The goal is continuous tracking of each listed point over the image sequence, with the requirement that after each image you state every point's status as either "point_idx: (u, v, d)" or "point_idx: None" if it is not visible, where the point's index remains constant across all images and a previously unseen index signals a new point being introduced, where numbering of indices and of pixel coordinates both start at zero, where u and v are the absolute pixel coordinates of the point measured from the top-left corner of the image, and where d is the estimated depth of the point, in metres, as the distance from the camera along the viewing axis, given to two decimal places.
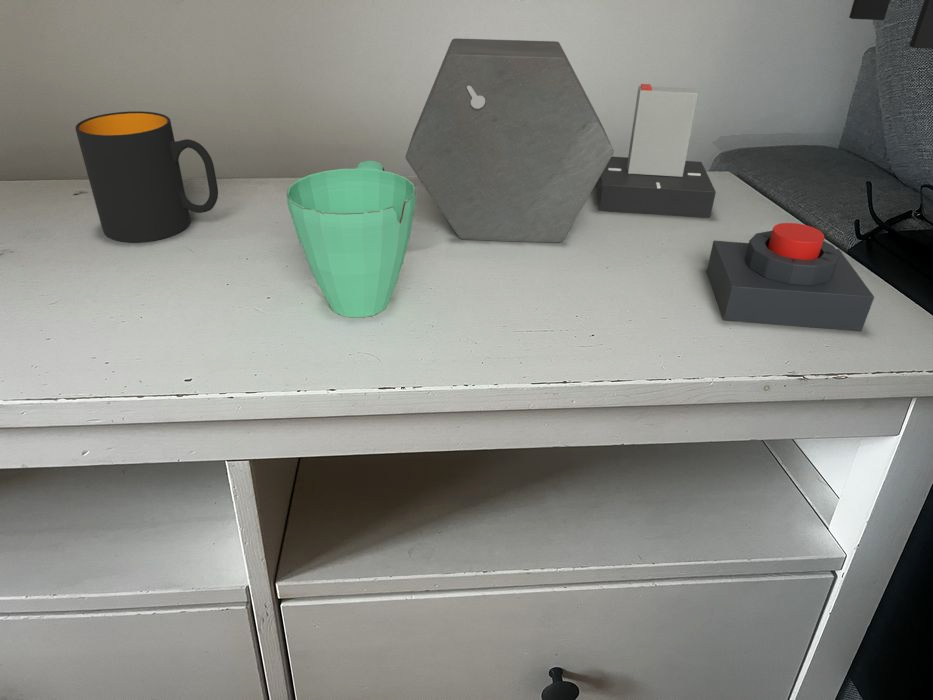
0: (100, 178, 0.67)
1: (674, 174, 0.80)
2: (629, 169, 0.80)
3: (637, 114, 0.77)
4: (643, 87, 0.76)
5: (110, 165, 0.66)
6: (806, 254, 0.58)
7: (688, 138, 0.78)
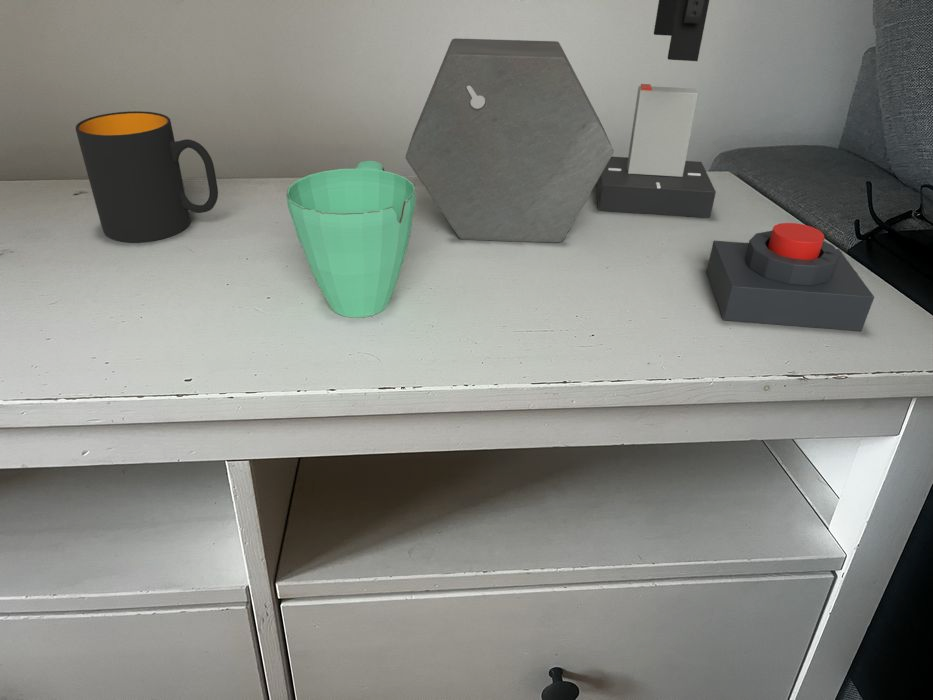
0: (100, 178, 0.67)
1: (674, 174, 0.80)
2: (629, 169, 0.80)
3: (637, 114, 0.77)
4: (643, 87, 0.76)
5: (110, 165, 0.66)
6: (806, 254, 0.58)
7: (688, 138, 0.78)
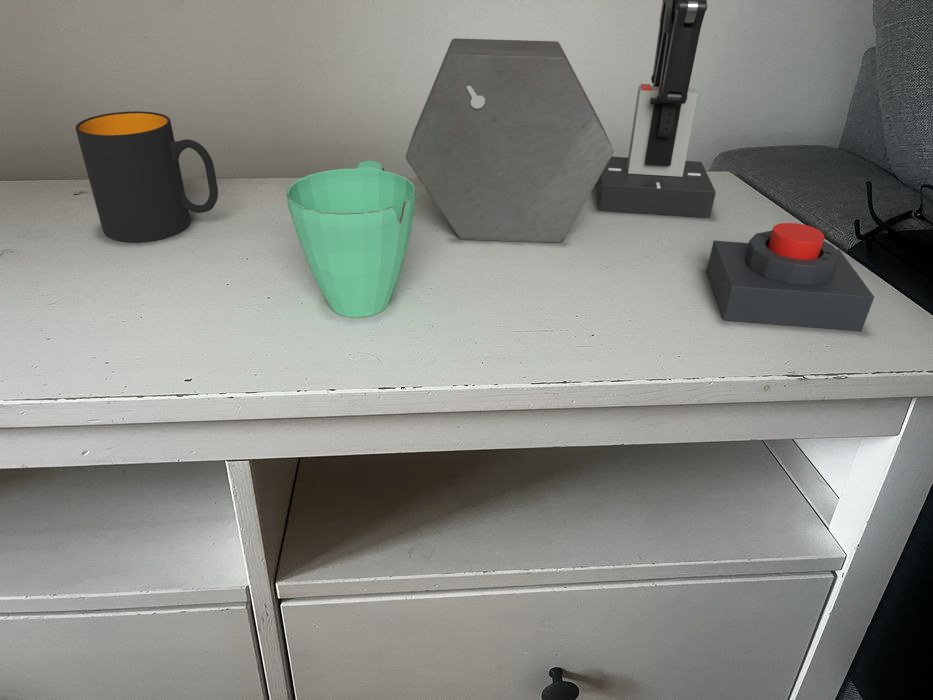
0: (100, 178, 0.67)
1: (674, 174, 0.80)
2: (629, 169, 0.80)
3: (637, 114, 0.77)
4: (643, 87, 0.76)
5: (110, 165, 0.66)
6: (806, 254, 0.58)
7: (688, 138, 0.78)
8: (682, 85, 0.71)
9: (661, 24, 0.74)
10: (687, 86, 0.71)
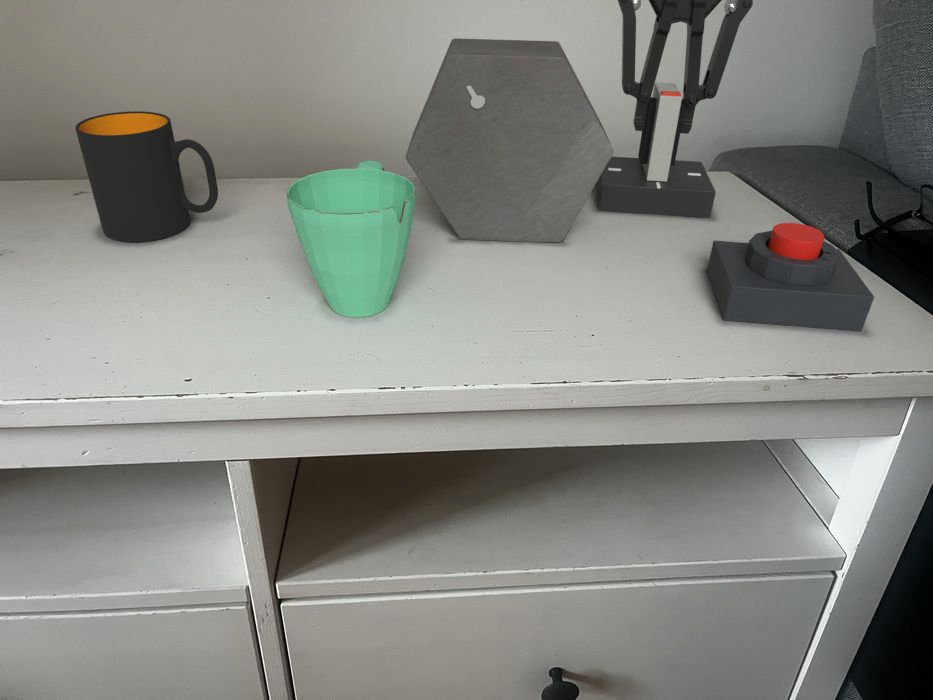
0: (100, 178, 0.67)
1: None
2: (667, 177, 0.78)
3: (677, 121, 0.75)
4: (677, 93, 0.74)
5: (110, 165, 0.66)
6: (806, 254, 0.58)
7: None
8: None
9: (669, 30, 0.72)
10: None
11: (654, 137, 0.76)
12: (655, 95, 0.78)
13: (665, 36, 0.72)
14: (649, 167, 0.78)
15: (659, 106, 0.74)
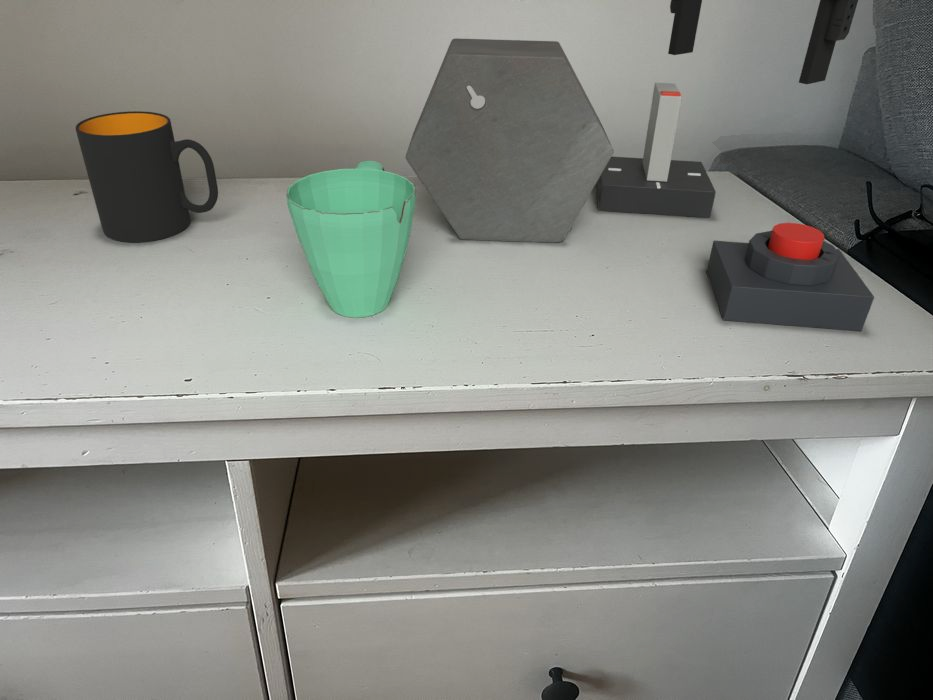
0: (100, 178, 0.67)
1: None
2: (667, 177, 0.78)
3: (677, 121, 0.75)
4: (677, 93, 0.74)
5: (110, 165, 0.66)
6: (806, 254, 0.58)
7: None
8: None
9: None
10: None
11: (654, 137, 0.76)
12: (655, 95, 0.78)
13: None
14: (649, 167, 0.78)
15: (659, 106, 0.74)
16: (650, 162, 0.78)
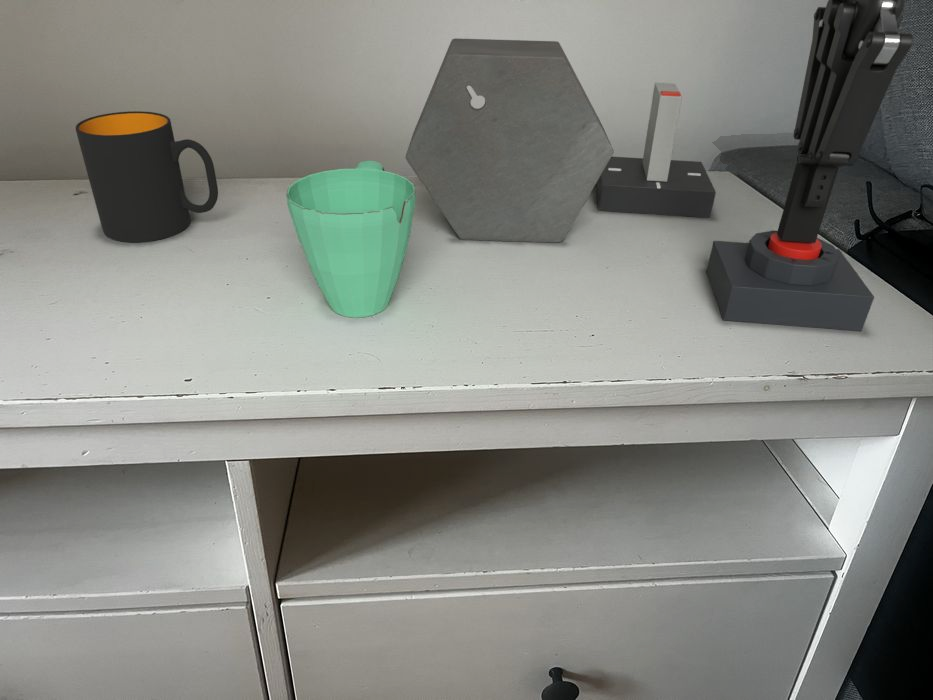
0: (100, 178, 0.67)
1: None
2: (667, 177, 0.78)
3: (677, 121, 0.75)
4: (677, 93, 0.74)
5: (110, 165, 0.66)
6: None
7: None
8: (853, 144, 0.51)
9: (822, 58, 0.53)
10: (860, 145, 0.51)
11: (654, 137, 0.76)
12: (655, 95, 0.78)
13: (824, 68, 0.53)
14: (649, 167, 0.78)
15: (659, 106, 0.74)
16: (650, 162, 0.78)
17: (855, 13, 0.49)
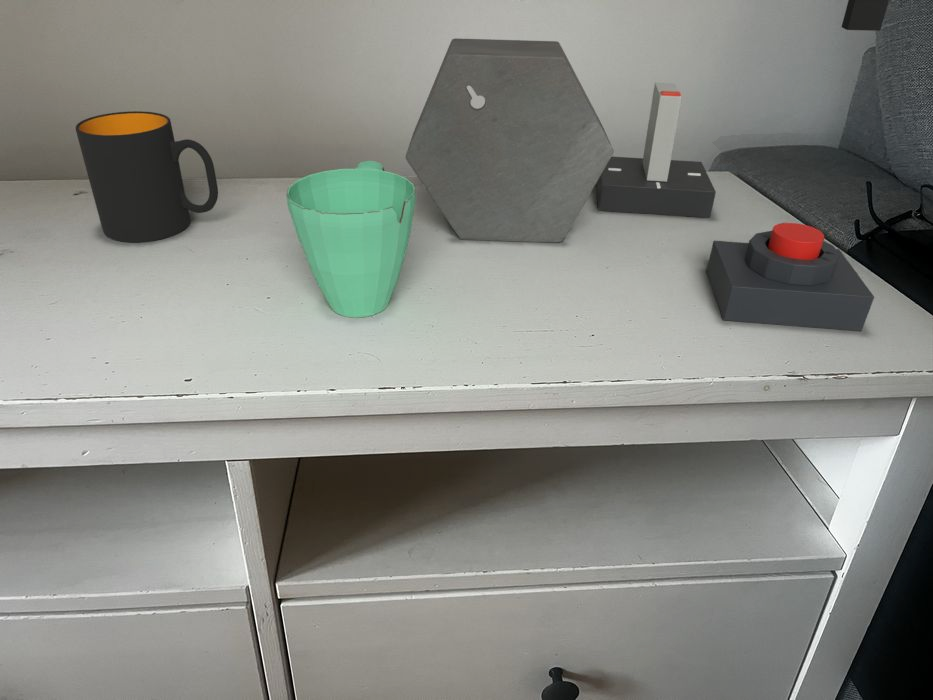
0: (100, 178, 0.67)
1: None
2: (667, 177, 0.78)
3: (677, 121, 0.75)
4: (677, 93, 0.74)
5: (110, 165, 0.66)
6: (806, 254, 0.58)
7: None
8: None
9: None
10: None
11: (654, 137, 0.76)
12: (655, 95, 0.78)
13: None
14: (649, 167, 0.78)
15: (659, 106, 0.74)
16: (650, 162, 0.78)
17: None
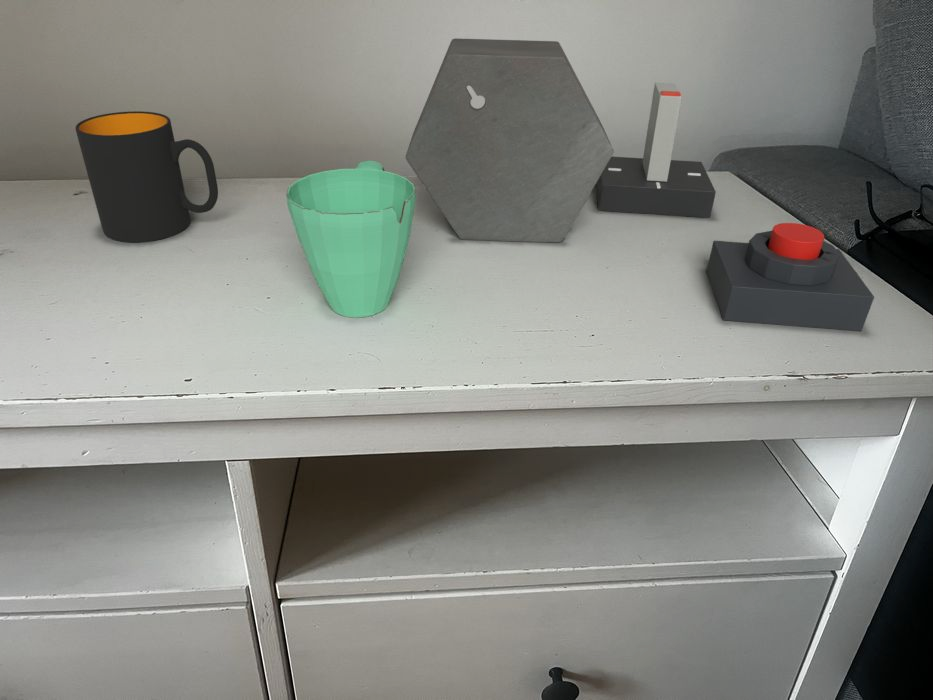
0: (100, 178, 0.67)
1: None
2: (667, 177, 0.78)
3: (677, 121, 0.75)
4: (677, 93, 0.74)
5: (110, 165, 0.66)
6: (806, 254, 0.58)
7: None
8: None
9: None
10: None
11: (654, 137, 0.76)
12: (655, 95, 0.78)
13: None
14: (649, 167, 0.78)
15: (659, 106, 0.74)
16: (650, 162, 0.78)
17: None
